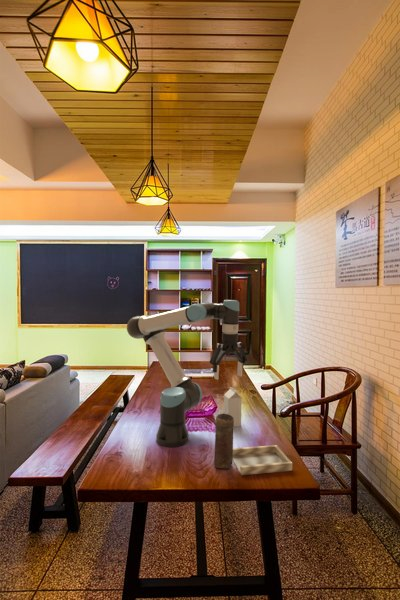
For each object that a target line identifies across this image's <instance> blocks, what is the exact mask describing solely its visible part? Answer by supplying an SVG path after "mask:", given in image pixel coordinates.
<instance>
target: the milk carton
mask: <svg viewBox="0 0 400 600" xmlns="http://www.w3.org/2000/svg"><path fill="white" fill-rule="evenodd" d="M239 394H240V392H239V391H238V390H236V389H235V388H233V387H231V386H230V387H229V390H227V391H226V392H225V393H224V394H223V396H224V398H223V413H224V414H229V415H231V416H232V417H233V418H234V428H235V427H241V426H242V397H241V396H240V395H239Z"/></svg>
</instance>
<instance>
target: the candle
mask: <svg viewBox="0 0 400 600" xmlns="http://www.w3.org/2000/svg"><path fill="white" fill-rule="evenodd" d="M234 428H235V427H234V418H233V417H232V416H231V415H229V414H224V412H223V413H220V414H217V415H216V417H215V430H214V431H215V433H214V434H215V435H214V436H215V437H214V439H215V440H214V453H213V454H214V457H213V459H214V460H213V466H215V467H216V468H218V469H230V468H231V467H232V466H233V448H234Z"/></svg>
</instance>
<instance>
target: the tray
mask: <svg viewBox="0 0 400 600" xmlns="http://www.w3.org/2000/svg"><path fill="white" fill-rule="evenodd" d="M232 462H233V463H234V465H235V467H236V469H237V471H238V473H239V474H240V476H248V475H249V476H250V475H259V474H268V473H269V474H271V473H279V472H291V471H293V462H292V461H291V459H290V458H289V457H288V456H287V455H286V454H285V453H284V451H282V449H281V448H280V447H279V446H278V445H277V444H273V445H272V444H271V445H258V446H246V447H233V460H232Z"/></svg>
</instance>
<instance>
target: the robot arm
mask: <svg viewBox="0 0 400 600" xmlns="http://www.w3.org/2000/svg"><path fill="white" fill-rule="evenodd" d="M205 320H222V324H221V325H222V327H221V328H222V329H221V330H222V331H221V332H222V333H221V341H222V342H221V343H218V342H217V343H216V344H215V349H214V351H213V354H212V356H211V357H210V359H209V362H208V363H209V364H211V365H212V371H213V379H215V380H217V381H218V380H219V376H220V375H219V374H220V365H219V364H220V362H221V361H222V359H223V358H224V357H225V355H226V354H231V353H233V355H234V356H235V357H236V358H237V360H238V361H237V373H236V374H237V376H238V377H243V370H244V365H245V363H246V362H247V361H248V357H247V355H246V352H245V350H244V344H243V342H241V341H239V333H238V332H239V324H240V322H239V320H240V302H239V300H236V299H224V300H223V302H222V303H215V302H202V303H194V304H191V305H189V306H185V307H181V308H176V309H173V310H168V311H165V312H161V313H156V314H147V315H136V316H133V317H132V318H130V319H129V320H128V322H127V324H126V332H127V333H128V335H129V336H130V337H131V338H133V339H138V340H139V339H142V340H143V341H144V344H146V345H149V346H150V348H151V349H152V351H153V354H154V355H155V357H156V359H157V360H158V363H159V364H160V366H161V368H162V371H163V372H164V374H165V376H166V378H167V380H168V381H169V384H170V387H168V388H165V389H163V390H162V391H161V393H160V399H159V403H160V408H159V409H160V410H159V412H160V413H159V414H160V416H159V417H160V419H159V422H160V424H159V427H158V429H157V432H156V436H155V440H156V443H157V444H158V445H160V446H163V447H168V448H176V447H177V448H178V447H181V446H184V445H185V444H187V443H188V442H189V439H190V438H189V431H188V428H187V425H186V413H187V412H188V411H190V410H192V409H194V408H195V407H196V406H197V405H199V404H200V403H201V401H202V398H203V391H202V388H201V387H200V385H199V384H198V383H196V382H194V381H193V380H192V379H191V377H188V376H186V374H185V372H184V371H183V368H182V366H181V365H180V363H179V361H178V360H177V358H176V356H175V354H174V352H173V351H172V348H171V347H170V345H169V344H168V342H167V340H166V338H165V334H166V332H165V330H166V329H169V328H174V327H178V326H182V325H186V324H192V323H195V322H201V321H205ZM237 348H238V349H237Z"/></svg>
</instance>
